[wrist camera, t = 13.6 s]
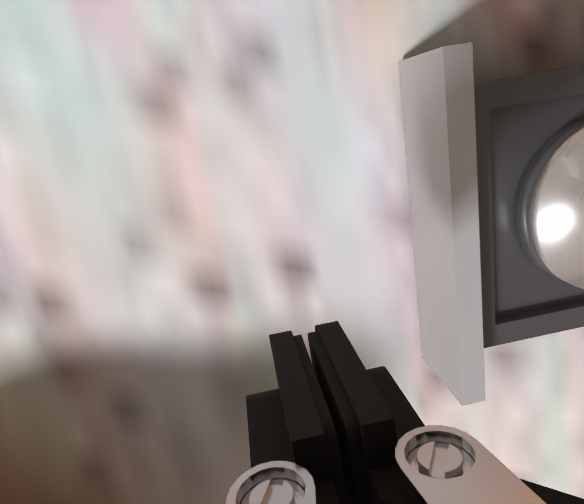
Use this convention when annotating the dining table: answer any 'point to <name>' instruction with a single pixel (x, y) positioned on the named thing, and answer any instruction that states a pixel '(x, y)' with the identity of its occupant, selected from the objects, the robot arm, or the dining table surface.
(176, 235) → the dining table surface
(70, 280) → the dining table surface
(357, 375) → the robot arm
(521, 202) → the disc
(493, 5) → the dining table surface
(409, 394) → the dining table surface
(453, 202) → the tray
